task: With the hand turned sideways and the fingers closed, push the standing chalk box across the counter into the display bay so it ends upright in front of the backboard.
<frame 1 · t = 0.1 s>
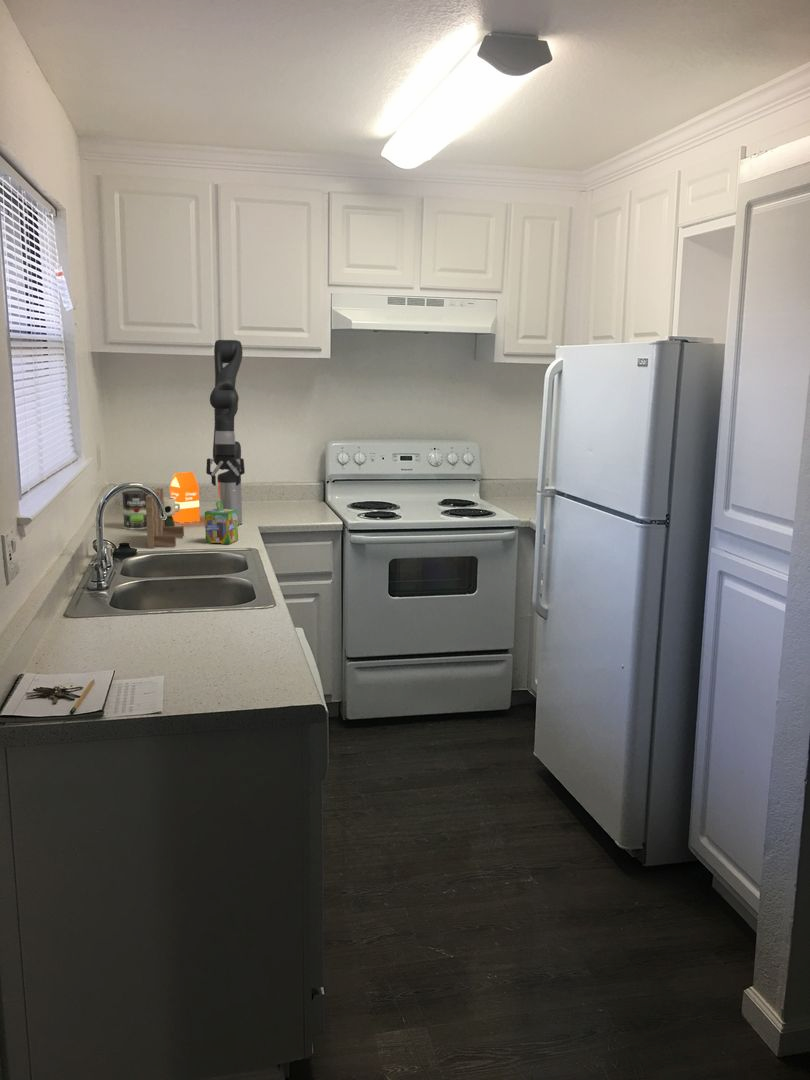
hand: (225, 485, 332), 17 cm above the worktop, tool pointing down, fingers open, 8 cm apart
character mug: (166, 533, 328), on the worktop
chalk box: (222, 542, 311), on the worktop
orange juice: (185, 521, 354), on the worktop
coffee can: (137, 528, 338), on the worktop
display bay: (162, 542, 309), on the worktop
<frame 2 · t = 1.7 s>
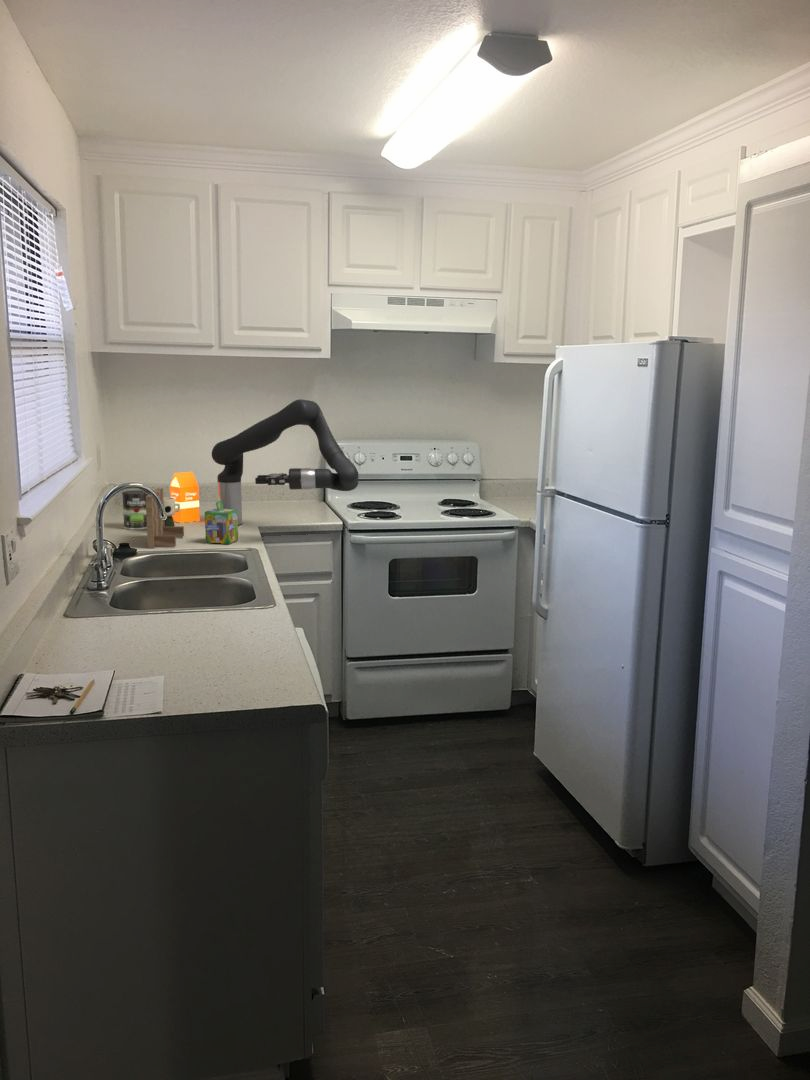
hand: (256, 479, 308), 23 cm above the worktop, tool horizontal, fingers open, 8 cm apart
nothing on the worktop moved.
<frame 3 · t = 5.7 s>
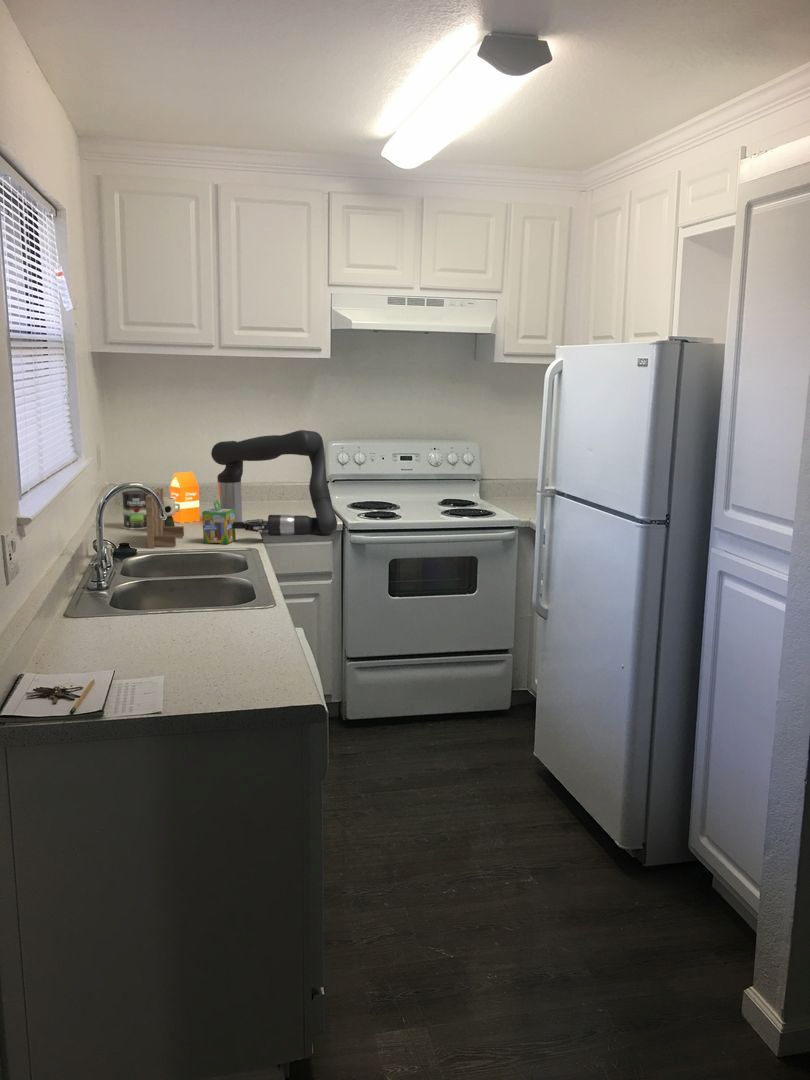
hand: (233, 525, 310), 6 cm above the worktop, tool horizontal, fingers closed
nothing on the worktop moved.
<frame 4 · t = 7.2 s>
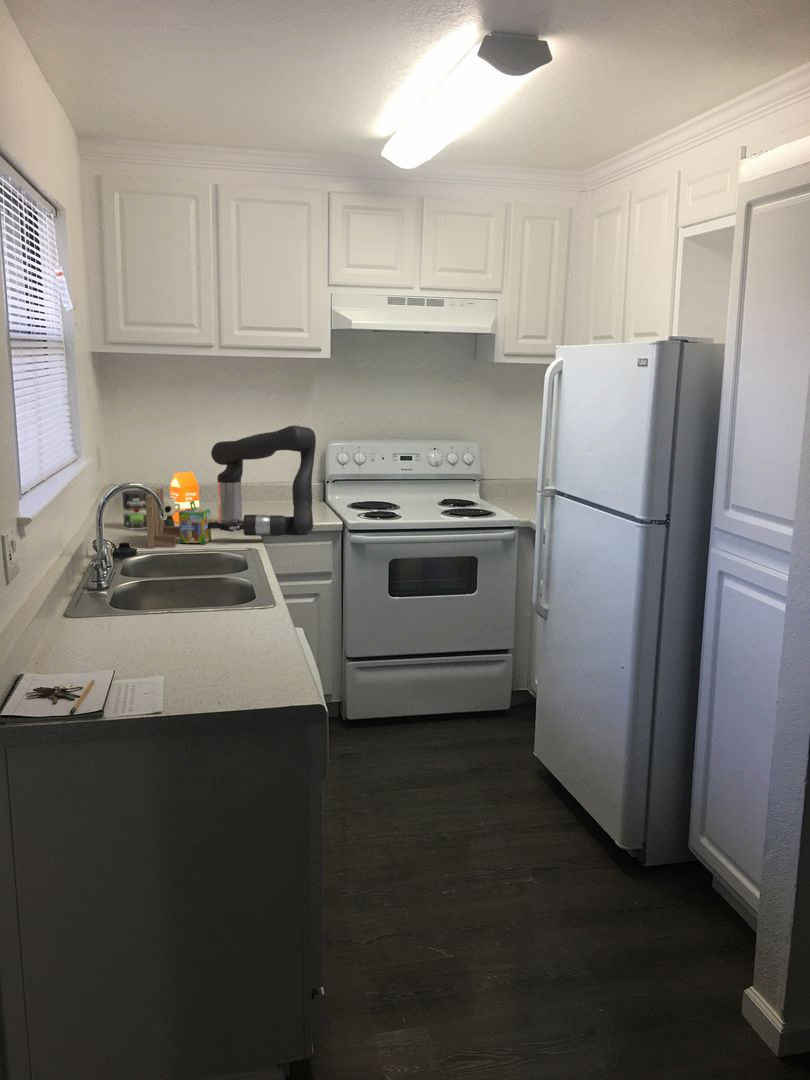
hand: (208, 525, 309), 6 cm above the worktop, tool horizontal, fingers closed
chalk box: (196, 542, 310), on the worktop, touching gripper
everything else where it was.
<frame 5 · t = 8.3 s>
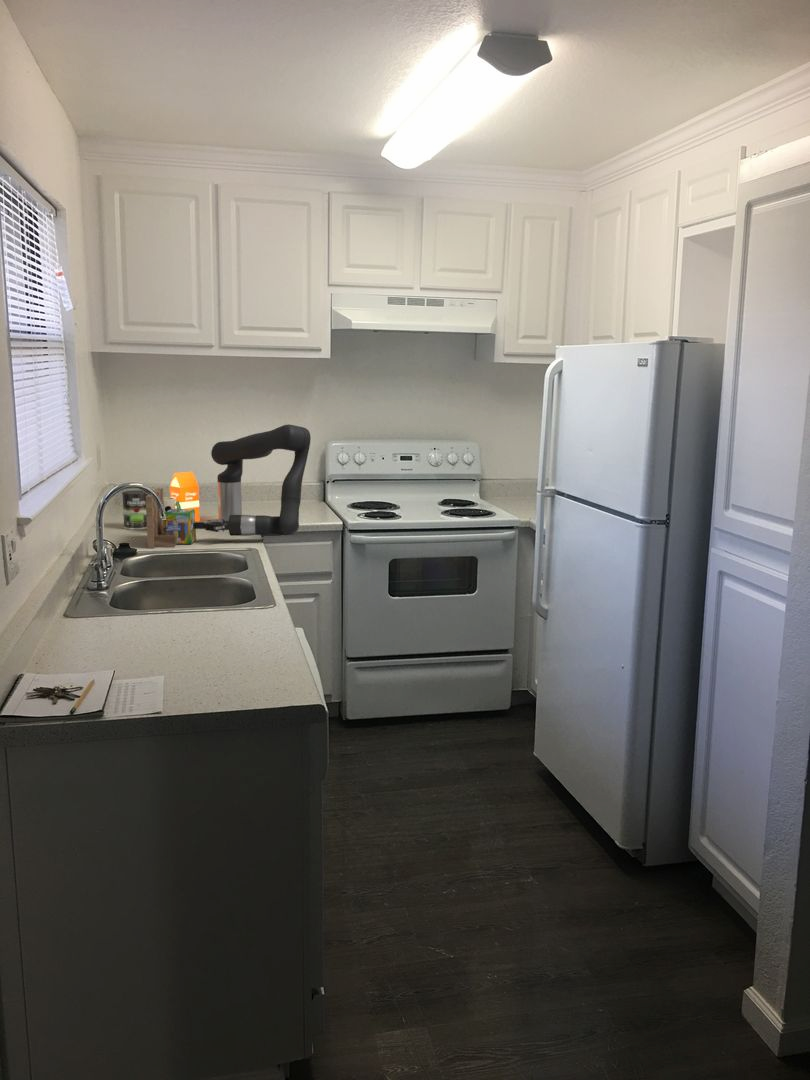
hand: (193, 525, 309), 6 cm above the worktop, tool horizontal, fingers closed
chalk box: (181, 542, 309), on the worktop, touching gripper
everything else where it was.
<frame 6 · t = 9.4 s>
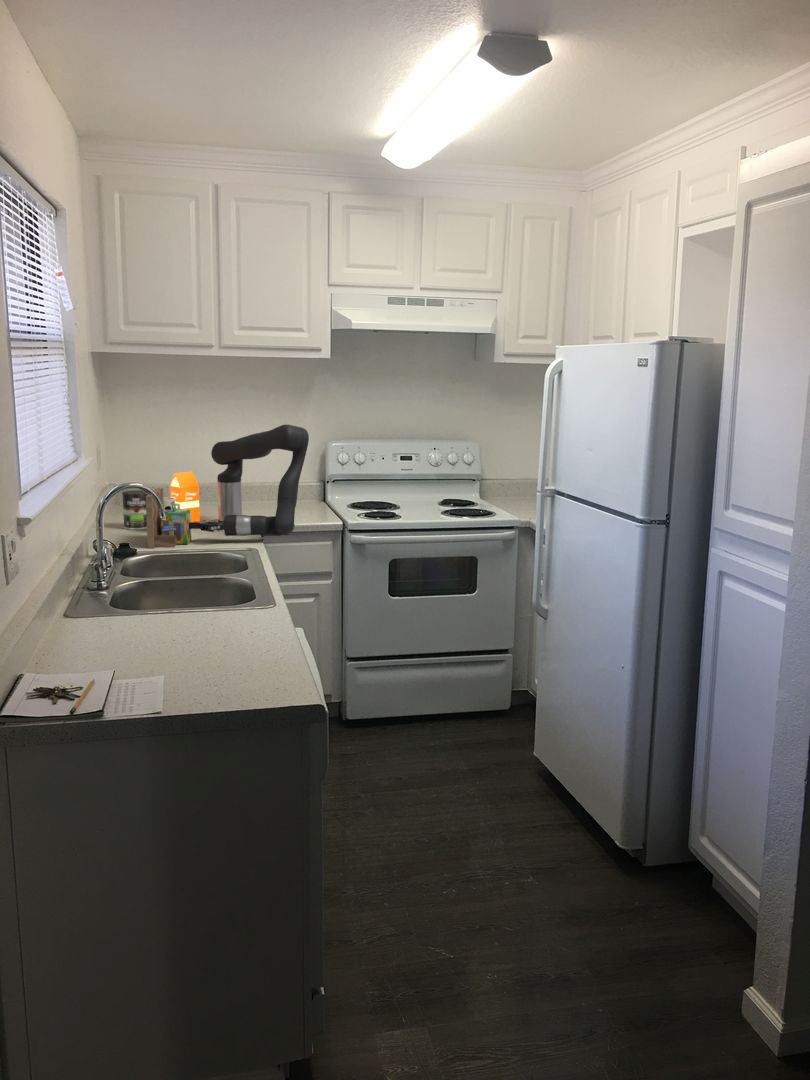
hand: (189, 525, 309), 6 cm above the worktop, tool horizontal, fingers closed
chalk box: (176, 543, 309), on the worktop
everything else where it was.
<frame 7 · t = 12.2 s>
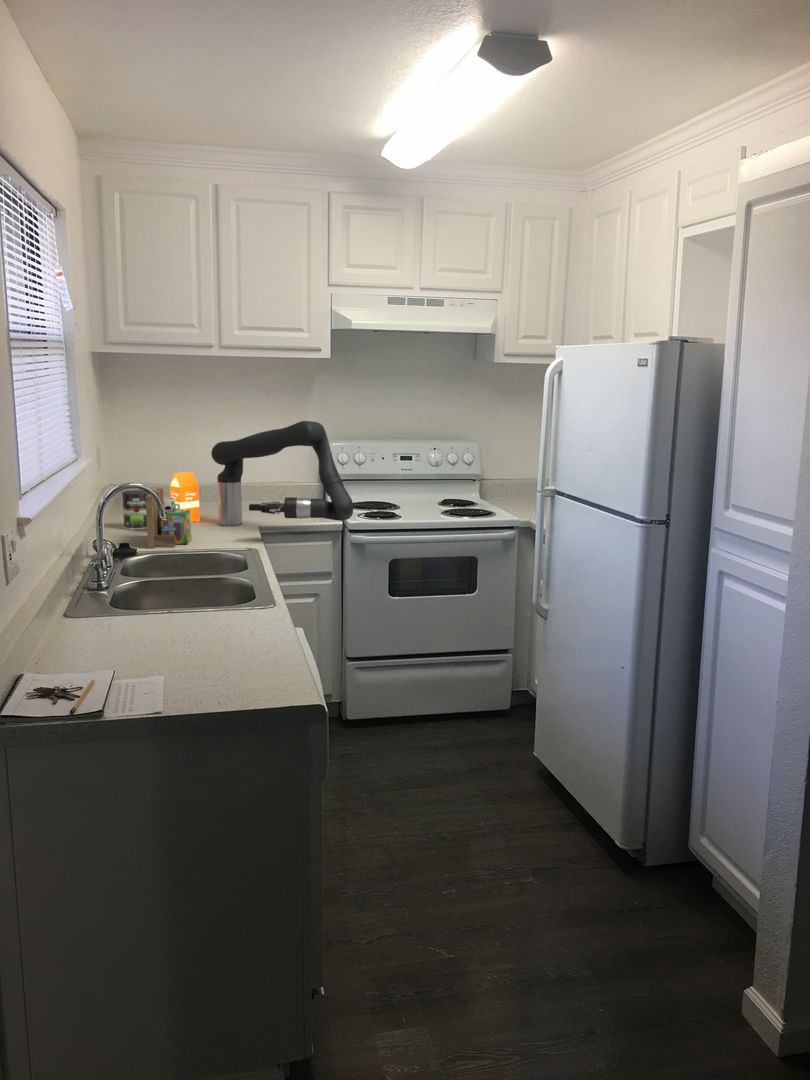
hand: (249, 507, 310), 13 cm above the worktop, tool horizontal, fingers closed
nothing on the worktop moved.
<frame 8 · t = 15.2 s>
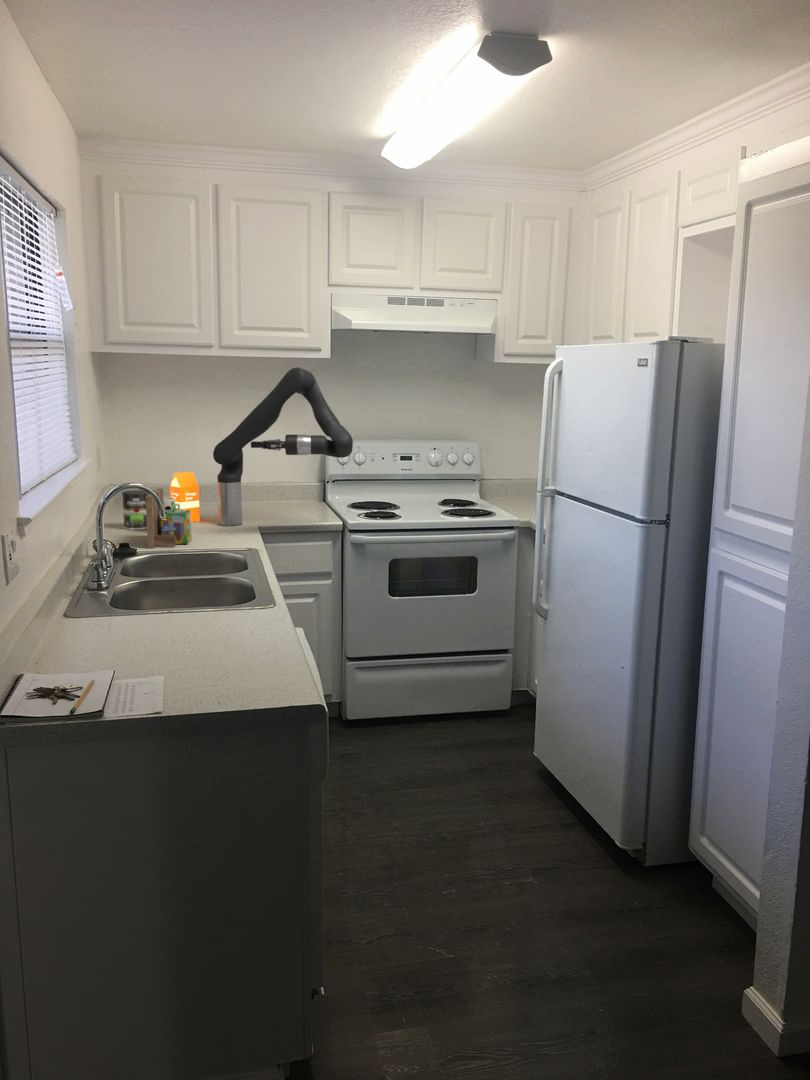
hand: (251, 444, 317), 34 cm above the worktop, tool horizontal, fingers closed
nothing on the worktop moved.
at the end: chalk box inside the target area (0.4 cm from its centre), on the worktop; chalk box tilted 0° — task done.
